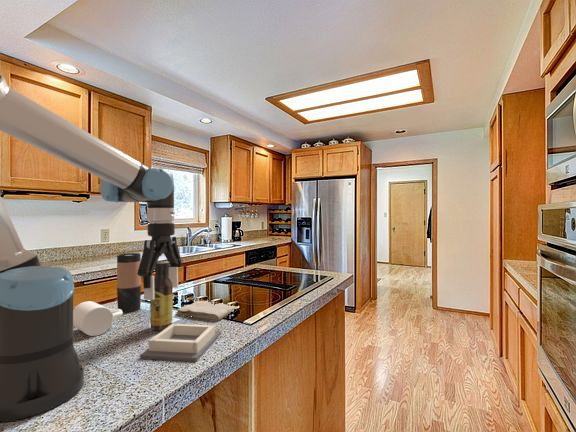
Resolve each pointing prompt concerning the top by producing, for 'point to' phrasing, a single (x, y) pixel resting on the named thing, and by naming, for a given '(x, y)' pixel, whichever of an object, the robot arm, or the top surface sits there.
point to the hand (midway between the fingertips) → (162, 292)
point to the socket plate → (181, 342)
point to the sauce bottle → (161, 298)
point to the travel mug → (128, 282)
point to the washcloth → (206, 310)
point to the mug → (94, 318)
